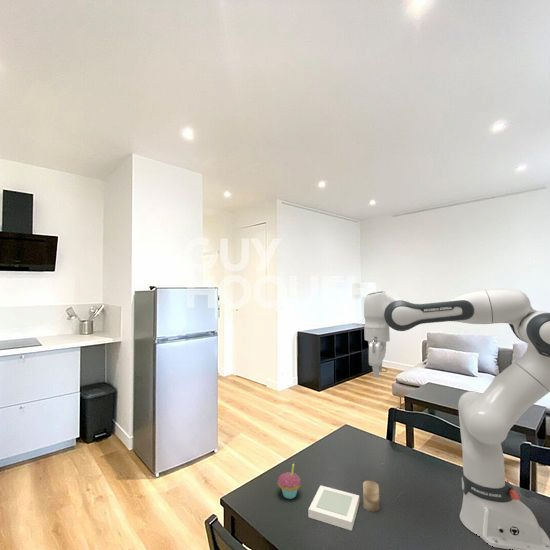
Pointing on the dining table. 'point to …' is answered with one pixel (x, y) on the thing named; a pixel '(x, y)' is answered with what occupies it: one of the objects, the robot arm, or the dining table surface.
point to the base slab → (334, 507)
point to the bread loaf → (371, 496)
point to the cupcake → (289, 483)
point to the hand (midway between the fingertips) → (377, 373)
